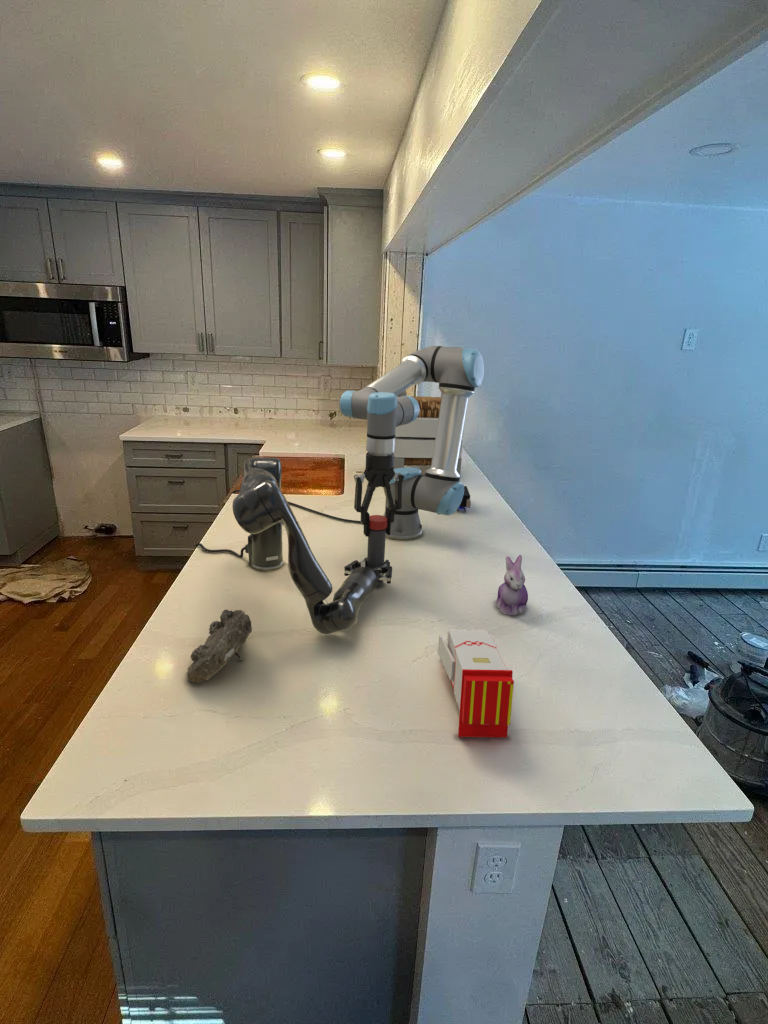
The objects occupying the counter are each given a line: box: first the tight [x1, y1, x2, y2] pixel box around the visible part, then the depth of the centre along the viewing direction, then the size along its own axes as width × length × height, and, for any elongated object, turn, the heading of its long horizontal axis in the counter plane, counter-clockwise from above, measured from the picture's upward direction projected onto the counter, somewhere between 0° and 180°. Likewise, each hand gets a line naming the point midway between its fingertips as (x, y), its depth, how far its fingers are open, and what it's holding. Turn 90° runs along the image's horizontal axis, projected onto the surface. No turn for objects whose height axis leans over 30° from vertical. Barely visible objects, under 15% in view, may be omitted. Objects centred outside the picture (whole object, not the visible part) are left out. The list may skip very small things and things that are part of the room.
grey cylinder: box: [366, 529, 386, 589], centre depth 159 cm, size 5×5×20 cm
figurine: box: [496, 554, 529, 616], centre depth 150 cm, size 9×10×15 cm
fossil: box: [186, 609, 253, 683], centre depth 125 cm, size 22×10×15 cm
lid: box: [369, 514, 388, 530], centre depth 156 cm, size 6×6×2 cm
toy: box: [437, 628, 515, 738], centre depth 117 cm, size 12×13×30 cm
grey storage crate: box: [393, 389, 465, 482], centre depth 268 cm, size 34×33×41 cm
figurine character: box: [456, 485, 472, 513], centre depth 228 cm, size 7×8×15 cm
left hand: (378, 561), depth 163 cm, fingers closed on grey cylinder, 5 cm apart
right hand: (376, 533), depth 157 cm, fingers closed on lid, 5 cm apart
